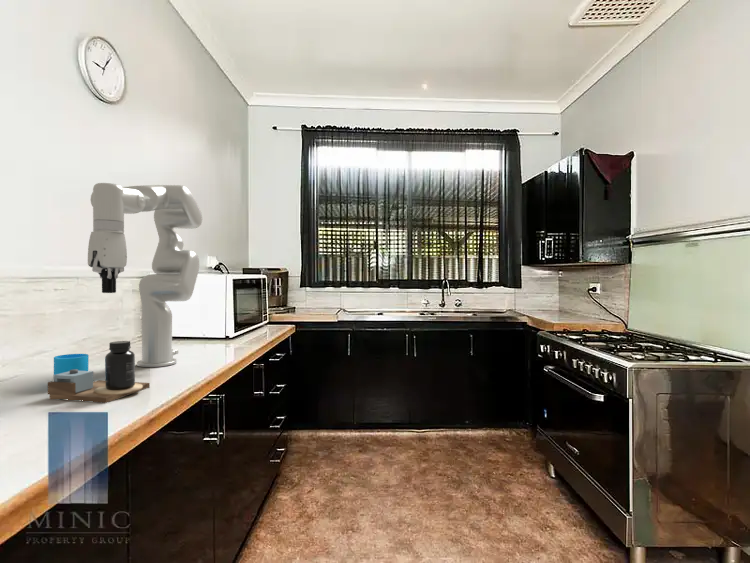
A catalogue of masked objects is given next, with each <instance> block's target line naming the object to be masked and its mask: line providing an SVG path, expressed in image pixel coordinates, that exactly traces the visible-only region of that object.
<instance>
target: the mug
mask: <svg viewBox="0 0 750 563" xmlns="http://www.w3.org/2000/svg"><path fill="white" fill-rule="evenodd" d="M73 369H78V371H89V354H87V353H67V354H60V355H55V356H54V357H53V376H54V375H56V374H60V373H64V372H68V371H70V370H73Z"/></svg>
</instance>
